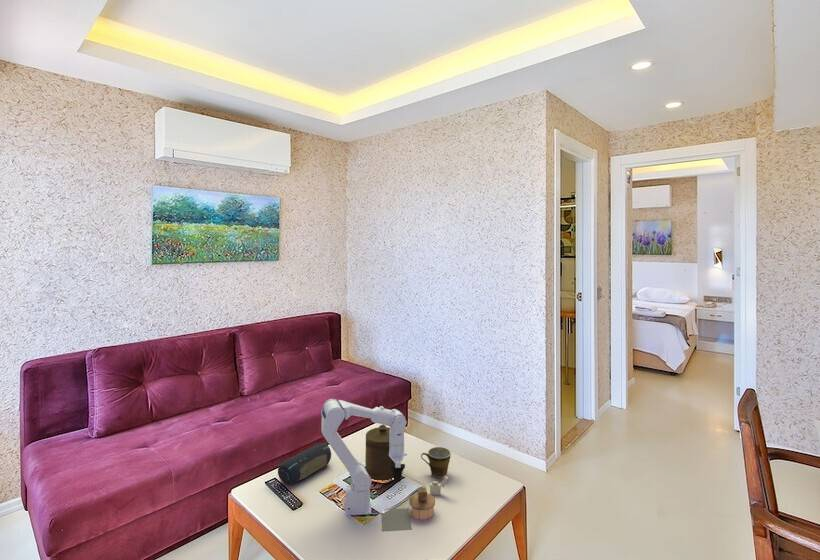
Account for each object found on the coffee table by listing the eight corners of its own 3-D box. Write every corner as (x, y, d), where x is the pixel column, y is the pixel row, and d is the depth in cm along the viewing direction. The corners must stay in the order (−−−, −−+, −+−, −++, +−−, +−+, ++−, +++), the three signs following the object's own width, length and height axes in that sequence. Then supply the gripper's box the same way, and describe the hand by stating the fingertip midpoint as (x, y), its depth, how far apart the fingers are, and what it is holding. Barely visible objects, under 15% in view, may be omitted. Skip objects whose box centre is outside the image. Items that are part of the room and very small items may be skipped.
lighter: (429, 495, 168) (430, 476, 167) (430, 492, 169) (430, 473, 169) (447, 496, 166) (447, 477, 166) (447, 494, 168) (448, 475, 167)
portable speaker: (291, 491, 170) (290, 467, 169) (275, 483, 176) (274, 460, 175) (335, 465, 191) (335, 443, 190) (320, 458, 196) (319, 438, 195)
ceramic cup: (450, 469, 187) (450, 447, 186) (450, 481, 177) (450, 458, 176) (421, 467, 188) (421, 446, 188) (419, 479, 178) (420, 457, 178)
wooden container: (388, 462, 193) (388, 415, 191) (406, 477, 181) (406, 427, 179) (359, 471, 185) (359, 423, 183) (375, 488, 172) (375, 436, 171)
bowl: (412, 521, 152) (412, 509, 151) (410, 507, 160) (410, 496, 159) (434, 520, 153) (434, 508, 152) (431, 506, 161) (431, 495, 160)
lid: (410, 511, 151) (410, 498, 150) (408, 495, 160) (408, 483, 160) (437, 509, 151) (437, 496, 151) (433, 493, 161) (433, 481, 161)
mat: (382, 532, 146) (382, 531, 146) (381, 510, 158) (381, 509, 158) (411, 530, 147) (411, 529, 147) (408, 509, 159) (408, 508, 159)
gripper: (408, 450, 155) (408, 485, 157) (405, 433, 170) (405, 465, 171) (389, 451, 155) (389, 486, 156) (388, 434, 169) (388, 466, 170)
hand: (396, 475), depth 163 cm, fingers open, 7 cm apart
